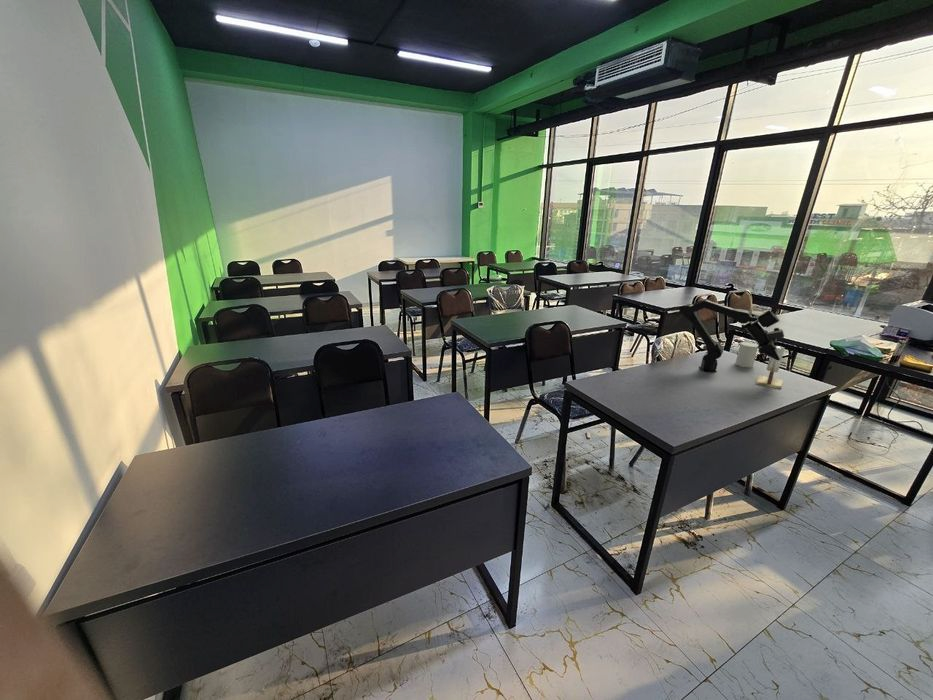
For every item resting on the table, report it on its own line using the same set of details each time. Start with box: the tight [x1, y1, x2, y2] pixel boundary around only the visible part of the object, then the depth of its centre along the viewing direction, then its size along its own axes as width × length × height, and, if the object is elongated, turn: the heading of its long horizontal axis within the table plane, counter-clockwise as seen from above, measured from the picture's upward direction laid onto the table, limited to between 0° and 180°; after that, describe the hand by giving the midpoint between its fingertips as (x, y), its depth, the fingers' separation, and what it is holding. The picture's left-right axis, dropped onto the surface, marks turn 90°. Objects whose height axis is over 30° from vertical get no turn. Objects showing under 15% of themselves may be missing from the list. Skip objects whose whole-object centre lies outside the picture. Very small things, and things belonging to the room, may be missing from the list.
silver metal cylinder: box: [766, 345, 786, 373], centre depth 193 cm, size 5×5×12 cm
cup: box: [735, 341, 759, 368], centre depth 219 cm, size 8×8×12 cm
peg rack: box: [755, 371, 784, 390], centre depth 196 cm, size 10×10×5 cm
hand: (779, 358), depth 192 cm, fingers closed on silver metal cylinder, 5 cm apart
